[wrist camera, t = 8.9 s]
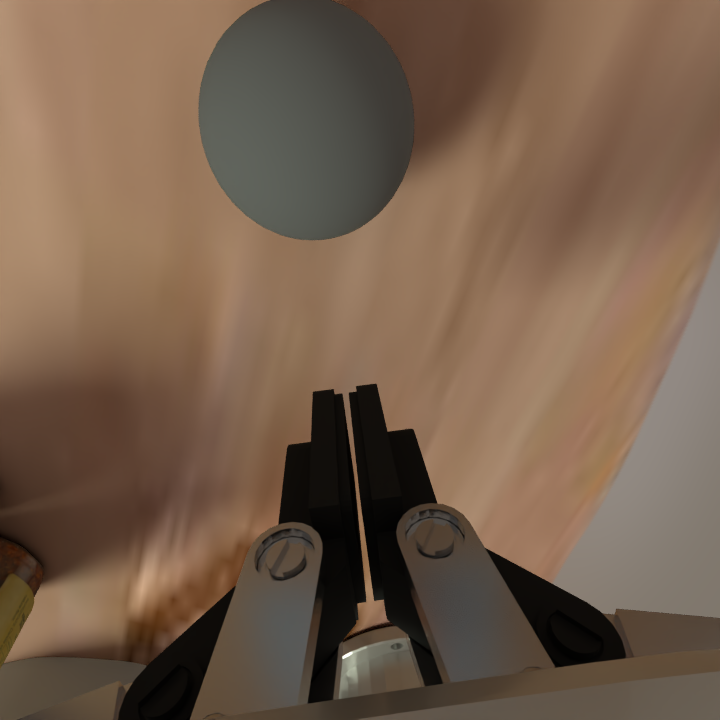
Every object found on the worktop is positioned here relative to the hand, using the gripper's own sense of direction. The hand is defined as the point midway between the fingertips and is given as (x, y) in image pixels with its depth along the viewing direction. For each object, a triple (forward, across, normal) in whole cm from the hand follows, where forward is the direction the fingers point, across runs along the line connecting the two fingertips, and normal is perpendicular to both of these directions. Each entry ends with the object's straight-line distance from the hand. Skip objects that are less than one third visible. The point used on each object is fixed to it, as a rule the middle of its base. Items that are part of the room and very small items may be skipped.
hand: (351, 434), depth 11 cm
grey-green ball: (+4, 0, -7) cm, 8 cm away
